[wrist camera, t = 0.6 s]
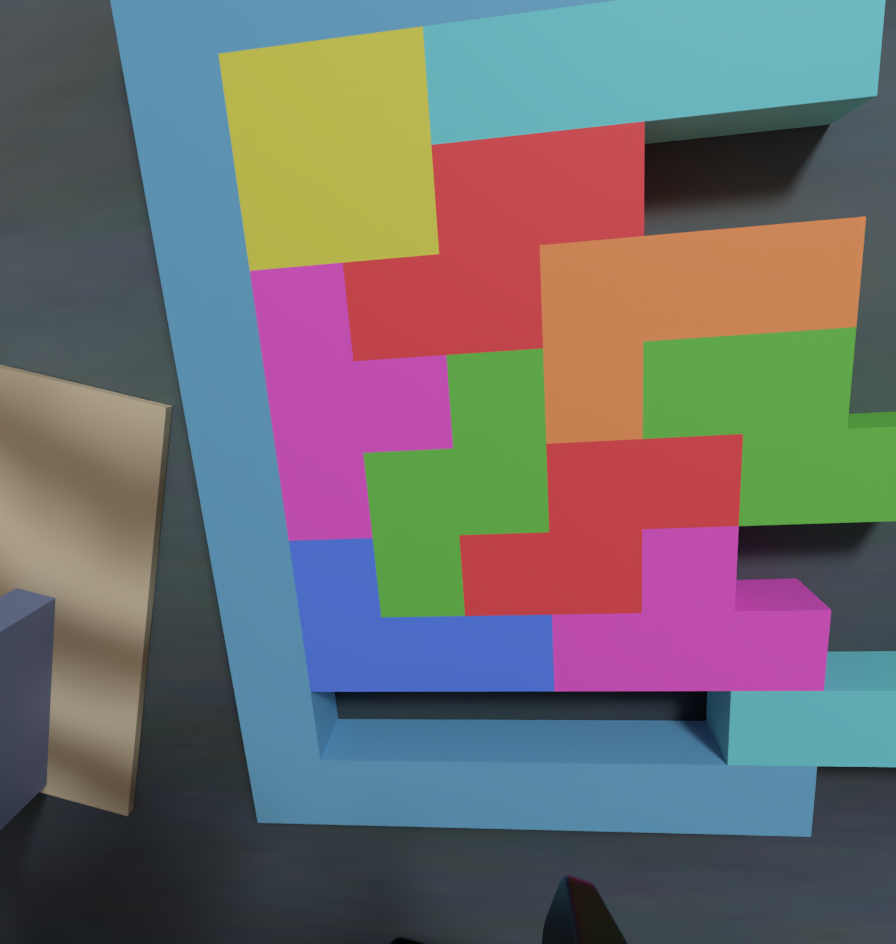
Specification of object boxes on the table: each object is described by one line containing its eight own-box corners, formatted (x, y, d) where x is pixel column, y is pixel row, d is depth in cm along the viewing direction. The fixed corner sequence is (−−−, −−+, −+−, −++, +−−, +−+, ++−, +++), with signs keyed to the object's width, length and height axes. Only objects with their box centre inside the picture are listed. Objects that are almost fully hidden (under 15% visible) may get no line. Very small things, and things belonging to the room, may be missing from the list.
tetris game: (284, 768, 25) (1017, 779, 22) (257, 823, 23) (1088, 843, 19) (160, 0, 19) (1189, -151, 15) (100, -53, 16) (1334, -251, 13)
